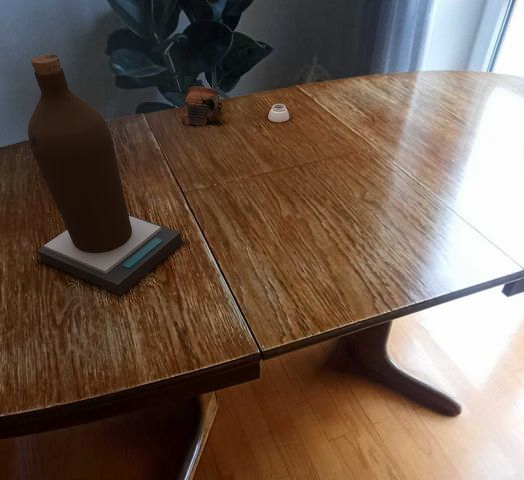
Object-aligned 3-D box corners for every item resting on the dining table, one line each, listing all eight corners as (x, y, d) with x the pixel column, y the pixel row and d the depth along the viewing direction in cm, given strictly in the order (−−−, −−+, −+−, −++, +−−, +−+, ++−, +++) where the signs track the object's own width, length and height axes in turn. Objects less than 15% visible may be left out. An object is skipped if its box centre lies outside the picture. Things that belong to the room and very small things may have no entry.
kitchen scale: (42, 263, 74) (35, 247, 72) (107, 218, 83) (102, 202, 81) (122, 297, 68) (116, 281, 66) (183, 245, 77) (180, 229, 75)
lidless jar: (284, 113, 112) (265, 117, 111) (284, 100, 110) (264, 104, 109) (292, 121, 109) (273, 125, 108) (293, 108, 107) (273, 112, 105)
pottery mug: (173, 124, 110) (175, 85, 108) (203, 131, 117) (206, 95, 114) (206, 123, 103) (209, 82, 100) (237, 131, 110) (240, 92, 107)
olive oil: (121, 259, 70) (64, 75, 51) (56, 252, 71) (-22, 71, 52) (145, 220, 77) (103, 45, 58) (86, 215, 78) (26, 43, 59)
